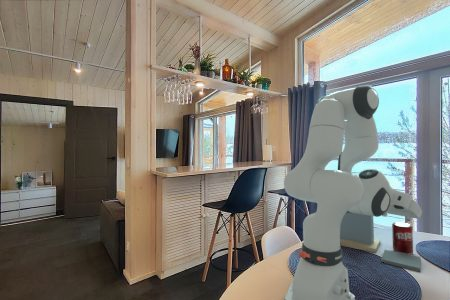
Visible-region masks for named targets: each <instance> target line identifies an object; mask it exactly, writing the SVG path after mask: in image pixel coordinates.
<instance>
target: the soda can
mask: <svg viewBox="0 0 450 300" xmlns="http://www.w3.org/2000/svg"><path fill="white" fill-rule="evenodd" d="M391 231H392V232H391V233H392V234H391V235H392V237H391V238H392V239H391V240H392V249H393V251H394V252H399V253H404V254H408V255H412V254H414V235H413V234H414V230H413V226H412V224H410V223H407V222H398V221H397V222H396V221H395V222H393V223H391Z"/></svg>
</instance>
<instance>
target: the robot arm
mask: <svg viewBox="0 0 450 300" xmlns="http://www.w3.org/2000/svg"><path fill="white" fill-rule="evenodd" d="M379 100H380V99H379V94H378V92H377V90H376V89H375V88H374V87H372V86H371V85H358V86H356V87H353V88H352V87H351V88H347V89H344V90H338V91H335V92H333V93H330V94H328V95H324V96H322V97H321V98H318V100H316V103H315V105H314V109H313V111H312V115H311V118H310V123H309V129H308V135H307V142H306V147H305V151H304V153H303V156H302V157H301V159H300V160H299V162H298V163H297V165H296V166H295V167H294V168H292V169H291V170H290V171H288V172H287V174H286V175H285V176H284V179H283V187H284V191H285V193H286V194H287V195H288V196H290V197H293V199H297V200H300V201H305V202H311V203H316V204H317V207H316V211H315V212H313V213H310V214H309V215H307V216H306V217H305V218H304V219H303V222H302V237H303V238H302V239H303V242H302V246H301V250H299V251H298V257H299V258H300V259H299V262H298V264H297V266H296V270H295V273H294V275H293V279H292V281H291V284H290V285H289V287H288V289H287V292H286V293H285V296H284V300H356V296H355V295H354V294H353V293H352V292H351V291H350V285H349V284H350V283H349V273H348V269H347V267H346V266H345V265H344V264H343V251H342V246H341V245H340V226H341V221H342V219H343V217H344V215H345V213H356V214H361V215H369V216H373V217H375V218H376V217H377V218H378V217H381V216H382V217H387V216H388V214H389V215H395V216H400V217H406V218H405V220H406V221H407V222H411V223H412V221H413V219H415V220H416V219H417V220H419V219H420V218H421V216H422V213H423V210H422V209H421V207H420V205H419V204H418V203H417V201H416V200H414V199H413V197H412V194H410V193H407V192H403V191H400V190H397V189H395V188H393V187H392V186H391V185H390V182H389V181H388V179H387V177H386V176H385V175H384V174H383V173H382V171H381V170H379V169H377V168H366V169H364V170H361V171H360V172H359V173H358V175H357V174H356V173H352V171H353V168H354V166H355V165H357V164H359V163H361V162H364V161H366V160H368V159H369V158H371V157H373V156H374V155H375V154H376V153H377V152H378V150H379V135H378V131H377V130H378V129H377V126H376V121H375V118H374V116H373V115H374V114H375V113H376V112H377V109H378V107H379V103H380V101H379ZM343 145H344V148H343ZM337 158H338V159H337ZM336 159H337V160H338V161H337V162H338V163H337V170H335V169H326V167H327V166H328V164H329V163H331V162H332V161H334V160H336ZM387 218H388V217H387Z"/></svg>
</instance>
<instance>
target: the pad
mask: <svg viewBox="0 0 450 300" xmlns="http://www.w3.org/2000/svg"><path fill="white" fill-rule="evenodd" d="M380 262H381V263H383V262H384V263H383V264H388V265H392V266H395V267H400V268H402V269H403V268H404V269H408V270H413V271H417V272H421V256H418V255H412V254H404V253H399V252H396V251H395V250H393V251H392V250H388V249H384V250H383V253H382V255H381V258H380Z"/></svg>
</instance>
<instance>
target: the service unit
mask: <svg viewBox="0 0 450 300" xmlns="http://www.w3.org/2000/svg"><path fill="white" fill-rule="evenodd" d="M374 224H375V223H374V216H369V215H361V214H356V213H345V215H344V217H343V219H342V221H341V226H340V246H344V247H348V248H353V249H358V250H362V251H367V252H371V253H377V252H378V249H379V247H380V244H381V239H378V238H375V232H374V231H375V229H374V226H375V225H374Z"/></svg>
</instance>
